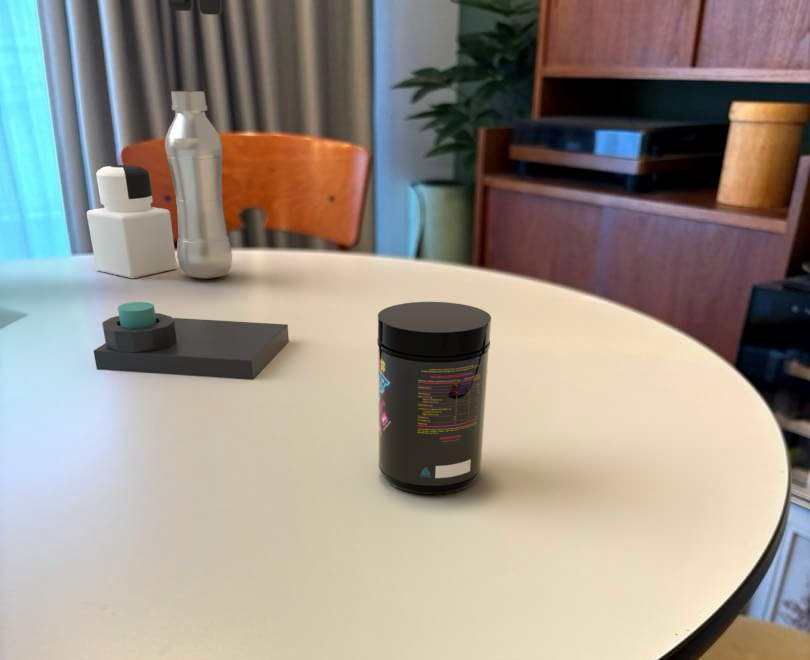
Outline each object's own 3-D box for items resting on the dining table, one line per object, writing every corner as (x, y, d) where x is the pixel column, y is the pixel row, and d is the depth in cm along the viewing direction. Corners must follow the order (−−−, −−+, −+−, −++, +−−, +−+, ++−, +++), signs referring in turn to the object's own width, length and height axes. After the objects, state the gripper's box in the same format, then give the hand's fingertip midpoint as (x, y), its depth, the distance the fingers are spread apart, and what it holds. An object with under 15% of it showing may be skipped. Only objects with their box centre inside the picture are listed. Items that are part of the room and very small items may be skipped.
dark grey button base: (96, 369, 71) (89, 329, 69) (149, 333, 81) (144, 297, 79) (252, 380, 69) (249, 339, 68) (289, 341, 79) (286, 304, 77)
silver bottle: (214, 269, 105) (196, 90, 95) (245, 278, 101) (229, 92, 91) (169, 276, 101) (145, 91, 91) (199, 286, 97) (178, 93, 87)
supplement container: (443, 446, 58) (448, 296, 53) (502, 483, 53) (515, 322, 48) (359, 467, 55) (356, 310, 50) (414, 508, 50) (417, 339, 45)
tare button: (114, 330, 71) (111, 309, 70) (130, 320, 73) (127, 301, 72) (148, 332, 70) (144, 311, 69) (162, 322, 73) (159, 302, 72)
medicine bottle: (141, 261, 108) (127, 161, 102) (178, 269, 105) (165, 166, 99) (95, 271, 103) (77, 166, 97) (132, 279, 100) (115, 171, 94)
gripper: (168, -180, 81) (186, 15, 89) (103, -222, 69) (131, 8, 77) (242, -181, 80) (254, 16, 89) (189, -224, 68) (209, 9, 76)
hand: (197, 12), depth 83 cm, fingers open, 8 cm apart
